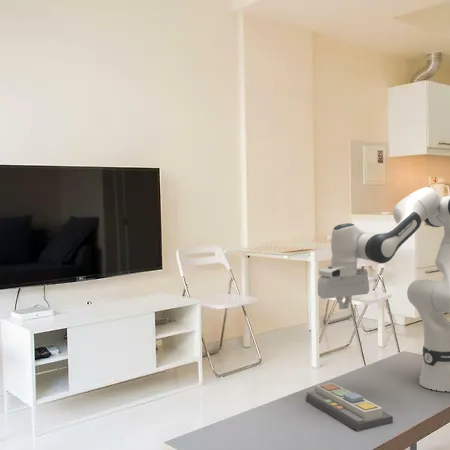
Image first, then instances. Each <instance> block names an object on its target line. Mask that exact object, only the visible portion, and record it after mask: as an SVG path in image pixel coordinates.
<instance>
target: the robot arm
mask: <svg viewBox="0 0 450 450" xmlns="http://www.w3.org/2000/svg"><path fill="white" fill-rule="evenodd" d="M392 215H393V219H394V221H395V222H396V224H395V225H394V226H393V227H392V228H391V229H390V230H389V231H387V232H382V233H375V232H374V233H373V232H367V231H364V230H362V229H360V228H358V227H357V226H355V224H353V223H351V222H350V223H340V224H337V225H335V226H334V227H333V229H332V232H331V237H330V238H331V239H330V241H331V242H330V249H331V253H332V256H331V260H330V261H331V262H330V264H329V265H327V266H324V267H322V268H320V269H319V271H318V275H319V278H318V280H317V296H318V297H319V298H321V299H325V300H326V299H334V298H336V299H335V300H336V301H337V302H338V309H339V310H347V309H350V303H351V301H352V297H353V296H361V295H362V296H363V295H368V294H369V292H370V283H369V282H370V281H369V276H368V274H369V273H368V271H367V269H365V268H363V267H362V268H358V259H361V260H364V261H365V260H366V261H371V262H375V263H378V264H386V263H387V262H390V261H391V260H392V259H393V258H394V256H395V254H396V253H397V251H398V250H399V249H400V247H401V246H402V245H403V244H404V243H405V242H406V241H407V240H408V239H409V238H411V237H412V236H413V234H415V232H416V231H418V229H419V228H420V227H421V224H422V223H423V222H424V223H425V224H426V225H428V226H429V227H432V228H433V227H434V228H440V227H443V228H444V229H443V231H444V233H443V237H442V240H441V242H440V245H439V249H438V251H437V254H436V257H435V260H434V263H435V267H436V268H437V270H438V271H439V272H440V273H441V274H443V278H442V280H441V281H440V280H439V281H438V280H432V279H418V280H417V279H416V280H413V281H411V283H410V284H409V285H408V288H407V291H406V293H407V295H406V297H407V300H408V301H409V303H410V304H411V305H412V306H413V307H414V308H415V309H416V311H417V312H418V314H419V317H420V319H421V321H422V326H423V346H422V356H423V357H422V363H421V371H420V374H419V382H418V384H419V385H420V386H422V387H424V388H426V389H429V390H431V389H432V391H436V390H437V392H445V391H447V392H448V393H450V320H448V318H447V317H446V315H445V313H448V314H450V195H445V196H442V197H440V194H439V193H438V191H437V190H435V189H434V188H433V187H429V186H428V187H427V186H425V187H422V188H421V187H420V188H419V189H417V190H415V191H413V192H411V193H410V194H408V195H406V196H405V197H404V198H402V199H401V200H400V201H399V202H397V203H396V204H395V206H394V208H393V210H392ZM344 299H345V300H344ZM343 300H344V302H343ZM447 392H446V393H447Z"/></svg>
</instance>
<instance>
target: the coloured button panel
mask: <svg viewBox="0 0 450 450" xmlns="http://www.w3.org/2000/svg"><path fill="white" fill-rule="evenodd" d="M329 384H333V385H335V386H337V387H339V389H337V390H332V391H327V390H325V389H323V388H322V387H321V386H323V385H329ZM338 390H344V391H346V392H348V393H353V392H352V391H349V390H348V389H346V388H344V387H342V386H340V385H338V384H337V383H334V382H328V383H324V384H318V385H315V391H308V392H307V394H306V399H305V400H306V402H307V403H309V404H311V405H312V406H314V407H315V408H318V409H319V410H321V411H323V412H324V413H326V414H327V415H329V416H330V417H332V418H334V419H335V420H337V421H339V422H341V423H342V424H345V426H347V427H350V428H351V429H353V430H354V431H356V432H360V431H363V430H368V429H372V428H376V427H380V426H384V425H388V424H392V423H393V422H394V421H393V415H391V414H389V413H387V412H385V411H383V407H381V406H379V405H377V404H375V403H373V402H371V401H369V400H367V399H366V398H364V397H363V401H362V402H358V403H353V404H352V403H350V402H348V401H346V400H344V397H338V396H337V395H335V394H333V393H332V392H333V391H338ZM365 402H368V403H370V404H372V405H374V406H376V408H375V409H370V410H366V411H365V410H363V409H361V408H359V407H357V406H356V404H360V403H365Z"/></svg>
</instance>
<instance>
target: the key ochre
mask: <svg viewBox="0 0 450 450" xmlns="http://www.w3.org/2000/svg"><path fill="white" fill-rule="evenodd" d="M356 406H357V407H359V408H361V409H363V410H365V411H366V410H370V409H375V408H376V406H374V405H372V404H370V403H368V402H365V403H360V404H356Z"/></svg>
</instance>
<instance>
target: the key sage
mask: <svg viewBox="0 0 450 450" xmlns="http://www.w3.org/2000/svg"><path fill="white" fill-rule="evenodd" d="M332 393H333V394H335V395H337V396H338V397H344V394H348V392H346V391H344V390H338V391H333V392H332Z"/></svg>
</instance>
